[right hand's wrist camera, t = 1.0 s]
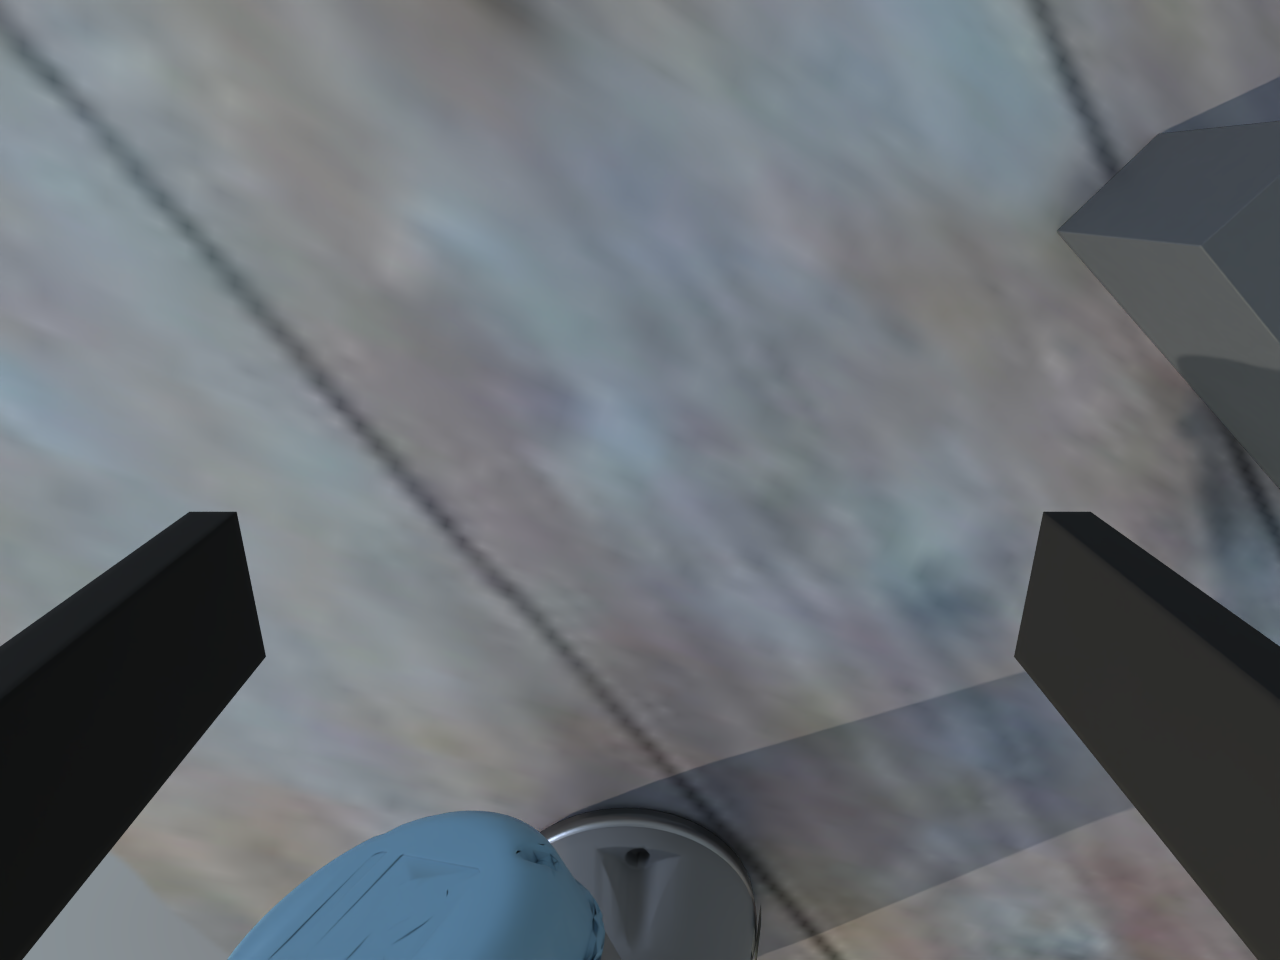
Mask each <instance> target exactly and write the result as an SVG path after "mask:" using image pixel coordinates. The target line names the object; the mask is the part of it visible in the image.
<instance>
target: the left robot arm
mask: <svg viewBox="0 0 1280 960" xmlns="http://www.w3.org/2000/svg"><path fill="white" fill-rule="evenodd" d="M756 924H757V917H756V908H755V902H754V896H753V890H752V886H751V882H750V879H749V876H748V874H747V871H746V870H745V868H744V866H743V864H742V862H741V861H740V860H739V858H738V857H737V855H736V854H735V853H734V852H733V851H732V850H731V849H730V847H729V846H728V845H726V844H725V843H724V842H723V841H722V840H721V839H720V838H718V837H717V836H716V835H714V834H713V833H711V832H710V831H708V830H707V829H705V828H703V827H702V826H700V825H697V824H695V823H693V822H691V821H689V820H686V819H684V818H681V817H678V816H675V815H672V814H668V813H664V812H659V811H654V810H647V809H637V808H613V809H604V810H597V811H592V812H587V813H583V814H579V815H576V816H573V817H570V818H567V819H565V820H562V821H560V822H558V823H556V824H554V825H552V826H550V827H548V828H547V829H545V830H543V831H542V832H538V831H537V830H536V829H534V828H533V827H531V826H530V825H528V824H527V823H525V822H523V821H521V820H519V819H516V818H513V817H510V816H508V815H504V814H500V813H494V812H486V811H457V812H449V813H444V814H439V815H434V816H429V817H425V818H421V819H418V820H415V821H412V822H409V823H406V824H403V825H401V826H399V827H397V828H395V829H393V830H391V831H389V832H387V833H385V834H382V835H379V836H375V837H373V838H371V839H369V840H367V841H365V842H363V843H361V844H359V845H357V846H356V847H354V848H352V849H350V850H349V851H347V852H345V853H344V854H342V855H340V856H339V857H337V858H336V859H334V860H333V861H331V862H330V863H328V864H327V865H325V866H324V867H322V868H321V869H319V870H318V871H317V872H315V873H314V874H313V875H311V876H310V877H309V878H307V879H306V880H305V881H303V882H302V883H301V884H300V885H298V886H297V887H296V888H295V889H294V890H292V891H291V892H290V893H289V894H288V895H287V896H285V897H284V898H283V899H282V900H281V901H280V902H279V903H278V904H277V905H276V906H274V907H273V908H272V909H271V910H270V911H269V912H268V913H267V914H266V915H265V916H264V917H263V918H262V919H261V920H260V921H259V922H258V923H257V924H256V925H255V926H254V927H253V929H252V930H251V931H250V932H249V933H248V934H247V935H246V936H245V938H244V939H243V940H242V941H241V942H240V944H239V945H238V946H237V947H236V948H235V950H234V951H233V952H232V954H231V955H230V957H229V958H228V959H227V960H752V959H753V955H754V951H755V960H757V952H758V944H759V935H760V927H761V907H760V915H759V923H758V932H757V926H756ZM756 932H757V940H756ZM755 946H756V948H755Z"/></svg>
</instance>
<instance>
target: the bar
mask: <svg viewBox="0 0 1280 960" xmlns="http://www.w3.org/2000/svg"><path fill="white" fill-rule="evenodd" d="M1057 232H1058V234H1059V235H1060V236H1061V237H1062V238H1063V239H1064V241H1065V242H1066V243H1067V244H1068V245H1069V246H1070V247H1071V249H1072V250H1073V251H1074V252H1075V253H1076V254H1077V256H1078V257H1079V258H1080V259H1081V260H1082V261H1083V263H1084V264H1085V265H1086V266H1087V267H1088V268H1089V269H1090V271H1091V272H1092V273H1093V274H1094V275H1095V276H1096V278H1097V279H1098V280H1099V281H1100V282H1101V283H1102V284H1103V286H1104V287H1105V288H1106V289H1107V290H1108V291H1109V293H1110V294H1111V295H1112V296H1113V297H1114V298H1115V299H1116V301H1117V302H1118V303H1119V304H1120V305H1121V306H1122V308H1123V309H1124V310H1125V311H1126V312H1127V313H1128V314H1129V316H1130V317H1131V318H1132V319H1133V320H1134V321H1135V323H1136V324H1137V325H1138V326H1139V327H1140V328H1141V329H1142V331H1143V332H1144V333H1145V334H1146V335H1147V336H1148V338H1149V339H1150V340H1151V341H1152V342H1153V343H1154V344H1155V346H1156V347H1157V348H1158V349H1159V350H1160V351H1161V353H1162V354H1163V355H1164V356H1165V357H1166V358H1167V359H1168V361H1169V362H1170V363H1171V364H1172V365H1173V366H1174V368H1175V369H1176V370H1177V371H1178V372H1179V373H1180V374H1181V376H1182V377H1183V378H1184V379H1185V380H1186V381H1187V383H1188V384H1189V385H1190V386H1191V387H1192V388H1193V390H1194V391H1195V392H1196V393H1197V394H1198V395H1199V396H1200V398H1201V399H1202V400H1203V401H1204V402H1205V403H1206V405H1207V406H1208V407H1209V408H1210V409H1211V410H1212V411H1213V413H1214V414H1215V415H1216V416H1217V417H1218V418H1219V420H1220V421H1221V422H1222V423H1223V424H1224V425H1225V426H1226V428H1227V429H1228V430H1229V431H1230V432H1231V433H1232V435H1233V436H1234V437H1235V438H1236V439H1237V440H1238V441H1239V443H1240V444H1241V445H1242V446H1243V447H1244V448H1245V450H1246V451H1247V452H1248V453H1249V454H1250V455H1251V456H1252V458H1253V459H1254V460H1255V461H1256V462H1257V463H1258V465H1259V466H1260V467H1261V468H1262V469H1263V470H1264V471H1265V473H1266V474H1267V475H1268V476H1269V477H1270V478H1271V480H1272V481H1273V482H1274V483H1275V484H1276V485H1277V486H1278V488H1279V489H1280V121H1274V122H1265V123H1255V124H1246V125H1236V126H1227V127H1218V128H1208V129H1199V130H1189V131H1180V132H1170V133H1161V134H1158V135H1157V136H1156V137H1155V138H1154V139H1153V140H1152V141H1151V142H1150V143H1149V144H1148V145H1147V146H1145V147H1144V148H1143V149H1142V150H1141V151H1140V152H1139V153H1138V154H1137V155H1136V156H1135V157H1134V158H1133V159H1132V160H1131V161H1130V162H1129V163H1128V164H1127V165H1126V166H1125V167H1123V168H1122V169H1121V170H1120V171H1119V172H1118V173H1117V174H1116V175H1115V176H1114V177H1113V178H1112V179H1111V180H1110V181H1109V182H1108V183H1107V184H1106V185H1105V186H1104V187H1102V188H1101V189H1100V190H1099V191H1098V192H1097V193H1096V194H1095V195H1094V196H1093V197H1092V198H1091V199H1090V200H1089V201H1088V202H1087V203H1086V204H1085V205H1084V206H1083V207H1082V208H1080V209H1079V210H1078V211H1077V212H1076V213H1075V214H1074V215H1073V216H1072V217H1071V218H1070V219H1069V220H1068V221H1067V222H1066V223H1065V224H1064V225H1063V226H1062V227H1061V228H1060V229H1058V230H1057Z"/></svg>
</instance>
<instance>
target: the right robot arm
mask: <svg viewBox="0 0 1280 960" xmlns="http://www.w3.org/2000/svg"><path fill="white" fill-rule="evenodd" d="M265 657H266V655H265V650H264V645H263V640H262V635H261V630H260V625H259V620H258V615H257V611H256V606H255V601H254V596H253V591H252V586H251V581H250V576H249V571H248V566H247V561H246V556H245V551H244V546H243V541H242V536H241V531H240V526H239V521H238V517H237V512H189V513H187V514H186V515H184V516H183V517H182V518H180V519H179V520H177V521H176V522H175V523H173V524H172V525H170V526H169V527H168V528H166V529H165V530H163V531H162V532H160V533H159V534H158V535H156V536H155V537H153V538H152V539H151V540H149V541H148V542H146V543H145V544H144V545H142V546H141V547H139V548H138V549H137V550H135V551H134V552H132V553H131V554H130V555H128V556H127V557H125V558H124V559H123V560H121V561H120V562H118V563H117V564H116V565H114V566H113V567H111V568H110V569H109V570H107V571H106V572H104V573H103V574H101V575H100V576H99V577H97V578H96V579H94V580H93V581H92V582H90V583H89V584H87V585H86V586H85V587H83V588H82V589H80V590H79V591H78V592H76V593H75V594H73V595H72V596H71V597H69V598H68V599H66V600H65V601H64V602H62V603H61V604H59V605H58V606H57V607H55V608H54V609H52V610H51V611H50V612H48V613H47V614H45V615H44V616H42V617H41V618H40V619H38V620H37V621H35V622H34V623H33V624H31V625H30V626H28V627H27V628H26V629H24V630H23V631H21V632H20V633H19V634H17V635H16V636H14V637H13V638H12V639H10V640H9V641H7V642H6V643H5V644H3V645H2V646H0V960H22V959H23V958H24V957H25V956H26V954H27V953H28V952H29V951H30V949H31V948H32V947H33V946H34V944H35V943H36V942H37V941H38V939H39V938H40V937H41V936H42V934H43V933H44V932H45V931H46V929H47V928H48V927H49V926H50V924H51V923H52V922H53V921H54V920H55V918H56V917H57V916H58V915H59V913H60V912H61V911H62V910H63V908H64V907H65V906H66V905H67V903H68V902H69V901H70V900H71V898H72V897H73V896H74V895H75V893H76V892H77V891H78V890H79V888H80V887H81V886H82V885H83V883H84V882H85V881H86V880H87V878H88V877H89V876H90V875H91V873H92V872H93V871H94V870H95V868H96V867H97V866H98V865H99V864H100V862H101V861H102V860H103V859H104V857H105V856H106V855H107V854H108V852H109V851H110V850H111V849H112V847H113V846H114V845H115V844H116V842H117V841H118V840H119V839H120V837H121V836H122V835H123V834H124V832H125V831H126V830H127V829H128V827H129V826H130V825H131V824H132V822H133V821H134V820H135V819H136V818H137V816H138V815H139V814H140V813H141V811H142V810H143V809H144V808H145V806H146V805H147V804H148V803H149V801H150V800H151V799H152V798H153V796H154V795H155V794H156V793H157V791H158V790H159V789H160V788H161V786H162V785H163V784H164V783H165V781H166V780H167V779H168V778H169V776H170V775H171V774H172V773H173V771H174V770H175V769H176V768H177V766H178V765H179V764H180V763H181V762H182V760H183V759H184V758H185V757H186V755H187V754H188V753H189V752H190V750H191V749H192V748H193V747H194V745H195V744H196V743H197V742H198V740H199V739H200V738H201V737H202V735H203V734H204V733H205V732H206V730H207V729H208V728H209V727H210V725H211V724H212V723H213V722H214V720H215V719H216V718H217V717H218V715H219V714H220V713H221V712H222V711H223V709H224V708H225V707H226V706H227V704H228V703H229V702H230V701H231V699H232V698H233V697H234V696H235V694H236V693H237V692H238V691H239V689H240V688H241V687H242V686H243V684H244V683H245V682H246V681H247V679H248V678H249V677H250V676H251V674H252V673H253V672H254V671H255V669H256V668H257V667H258V666H259V664H260V663H261V662H262V661H263V660H264V658H265ZM1014 657H1015V658H1016V660H1017V661H1018V662H1019V663H1020V664H1021V666H1022V667H1023V668H1024V669H1025V671H1026V672H1027V673H1028V674H1029V676H1030V677H1031V678H1032V679H1033V681H1034V682H1035V683H1036V684H1037V686H1038V687H1039V688H1040V689H1041V691H1042V692H1043V693H1044V694H1045V696H1046V697H1047V698H1048V699H1049V701H1050V702H1051V703H1052V704H1053V706H1054V707H1055V708H1056V709H1057V711H1058V712H1059V713H1060V714H1061V715H1062V717H1063V718H1064V719H1065V720H1066V722H1067V723H1068V724H1069V725H1070V727H1071V728H1072V729H1073V730H1074V732H1075V733H1076V734H1077V735H1078V737H1079V738H1080V739H1081V740H1082V742H1083V743H1084V744H1085V745H1086V747H1087V748H1088V749H1089V750H1090V752H1091V753H1092V754H1093V755H1094V757H1095V758H1096V759H1097V760H1098V762H1099V763H1100V764H1101V765H1102V766H1103V768H1104V769H1105V770H1106V771H1107V773H1108V774H1109V775H1110V776H1111V778H1112V779H1113V780H1114V781H1115V783H1116V784H1117V785H1118V786H1119V788H1120V789H1121V790H1122V791H1123V793H1124V794H1125V795H1126V796H1127V798H1128V799H1129V800H1130V801H1131V803H1132V804H1133V805H1134V806H1135V808H1136V809H1137V810H1138V811H1139V813H1140V814H1141V815H1142V816H1143V818H1144V819H1145V820H1146V821H1147V822H1148V824H1149V825H1150V826H1151V827H1152V829H1153V830H1154V831H1155V832H1156V834H1157V835H1158V836H1159V837H1160V839H1161V840H1162V841H1163V842H1164V844H1165V845H1166V846H1167V847H1168V849H1169V850H1170V851H1171V852H1172V854H1173V855H1174V856H1175V857H1176V859H1177V860H1178V861H1179V862H1180V864H1181V865H1182V866H1183V867H1184V869H1185V870H1186V871H1187V872H1188V873H1189V875H1190V876H1191V877H1192V878H1193V880H1194V881H1195V882H1196V883H1197V885H1198V886H1199V887H1200V888H1201V890H1202V891H1203V892H1204V893H1205V895H1206V896H1207V897H1208V898H1209V900H1210V901H1211V902H1212V903H1213V905H1214V906H1215V907H1216V908H1217V910H1218V911H1219V912H1220V913H1221V915H1222V916H1223V917H1224V918H1225V920H1226V921H1227V922H1228V923H1229V924H1230V926H1231V927H1232V928H1233V929H1234V931H1235V932H1236V933H1237V934H1238V936H1239V937H1240V938H1241V939H1242V941H1243V942H1244V943H1245V944H1246V946H1247V947H1248V948H1249V949H1250V951H1251V952H1252V953H1253V954H1254V956H1255V957H1256V958H1257V959H1258V960H1280V646H1278V645H1277V644H1275V643H1274V642H1273V641H1271V640H1270V639H1268V638H1267V637H1266V636H1264V635H1263V634H1261V633H1260V632H1259V631H1257V630H1256V629H1254V628H1253V627H1252V626H1250V625H1249V624H1247V623H1246V622H1245V621H1243V620H1242V619H1240V618H1239V617H1238V616H1236V615H1235V614H1233V613H1232V612H1230V611H1229V610H1228V609H1226V608H1225V607H1223V606H1222V605H1221V604H1219V603H1218V602H1216V601H1215V600H1214V599H1212V598H1211V597H1209V596H1208V595H1207V594H1205V593H1204V592H1202V591H1201V590H1200V589H1198V588H1197V587H1195V586H1194V585H1193V584H1191V583H1190V582H1188V581H1187V580H1186V579H1184V578H1183V577H1181V576H1180V575H1179V574H1177V573H1176V572H1174V571H1173V570H1171V569H1170V568H1169V567H1167V566H1166V565H1164V564H1163V563H1162V562H1160V561H1159V560H1157V559H1156V558H1155V557H1153V556H1152V555H1150V554H1149V553H1148V552H1146V551H1145V550H1143V549H1142V548H1141V547H1139V546H1138V545H1136V544H1135V543H1134V542H1132V541H1131V540H1129V539H1128V538H1127V537H1125V536H1124V535H1122V534H1121V533H1120V532H1118V531H1117V530H1115V529H1114V528H1112V527H1111V526H1110V525H1108V524H1107V523H1105V522H1104V521H1103V520H1101V519H1100V518H1098V517H1097V516H1096V515H1094V514H1093V513H1091V512H1043V517H1042V521H1041V526H1040V531H1039V536H1038V541H1037V546H1036V551H1035V556H1034V561H1033V566H1032V571H1031V576H1030V581H1029V586H1028V591H1027V596H1026V601H1025V606H1024V611H1023V615H1022V620H1021V625H1020V630H1019V635H1018V640H1017V645H1016V650H1015V655H1014Z"/></svg>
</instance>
